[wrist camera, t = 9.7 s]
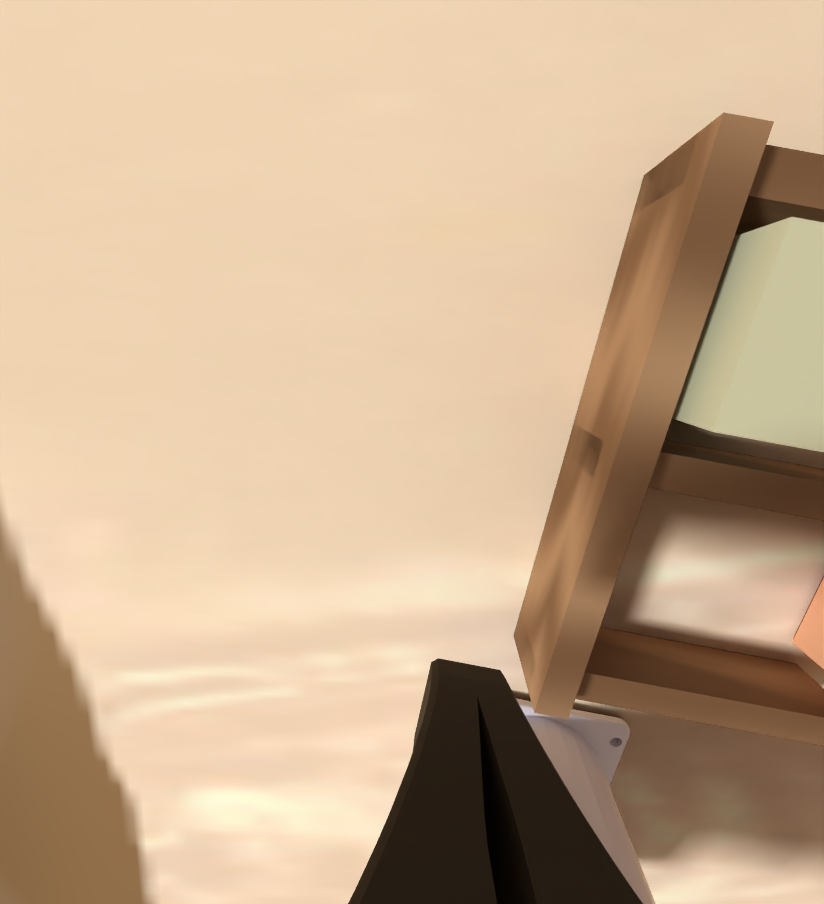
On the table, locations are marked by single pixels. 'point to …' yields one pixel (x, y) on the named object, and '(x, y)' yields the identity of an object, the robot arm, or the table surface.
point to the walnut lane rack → (667, 451)
